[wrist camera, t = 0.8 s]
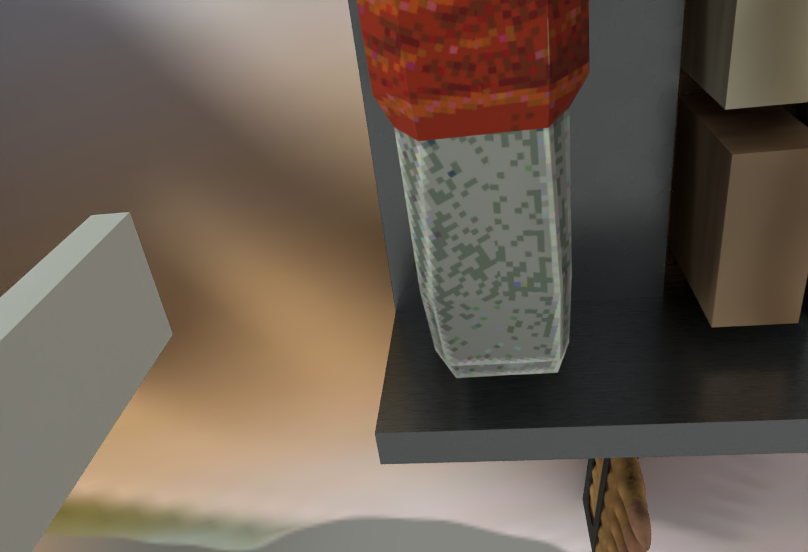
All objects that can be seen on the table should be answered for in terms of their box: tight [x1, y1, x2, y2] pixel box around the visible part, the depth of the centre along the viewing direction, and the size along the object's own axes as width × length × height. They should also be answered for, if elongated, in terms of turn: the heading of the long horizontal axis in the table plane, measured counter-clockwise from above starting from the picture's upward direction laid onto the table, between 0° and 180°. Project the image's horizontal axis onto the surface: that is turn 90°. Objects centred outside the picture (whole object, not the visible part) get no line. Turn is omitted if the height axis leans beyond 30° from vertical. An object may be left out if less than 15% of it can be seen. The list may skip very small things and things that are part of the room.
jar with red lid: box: [356, 0, 590, 378], centre depth 28 cm, size 19×6×30 cm
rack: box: [348, 0, 808, 464], centre depth 29 cm, size 23×37×14 cm, turn 7°
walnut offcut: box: [668, 93, 808, 327], centre depth 35 cm, size 4×9×9 cm, turn 7°
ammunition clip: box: [583, 457, 651, 552], centre depth 46 cm, size 11×2×12 cm, turn 2°
